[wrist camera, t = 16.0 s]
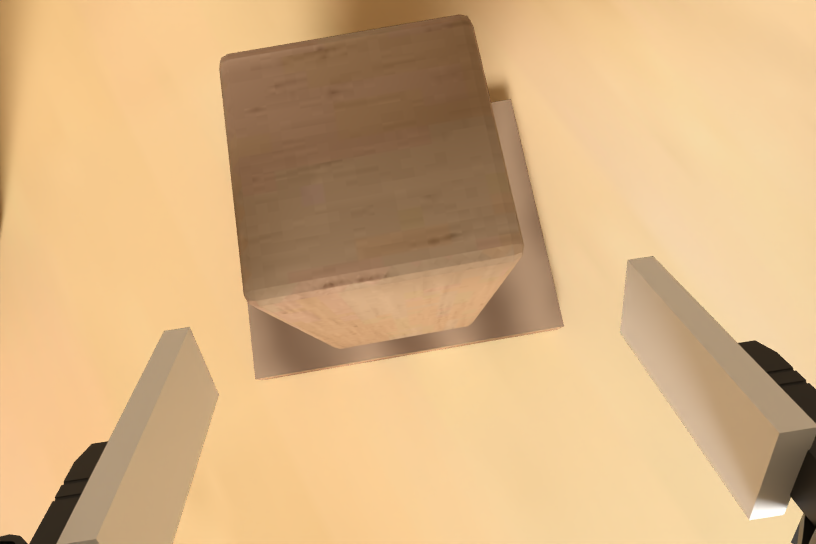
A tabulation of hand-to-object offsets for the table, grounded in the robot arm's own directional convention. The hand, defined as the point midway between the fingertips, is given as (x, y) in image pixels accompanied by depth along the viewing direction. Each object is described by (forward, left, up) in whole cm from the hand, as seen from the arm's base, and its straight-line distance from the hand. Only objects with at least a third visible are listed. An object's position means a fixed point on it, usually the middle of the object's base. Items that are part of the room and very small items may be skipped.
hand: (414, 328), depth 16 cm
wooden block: (+1, -7, -22) cm, 23 cm away
